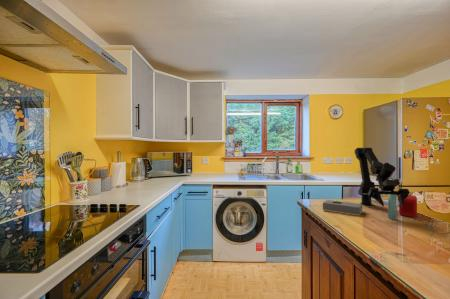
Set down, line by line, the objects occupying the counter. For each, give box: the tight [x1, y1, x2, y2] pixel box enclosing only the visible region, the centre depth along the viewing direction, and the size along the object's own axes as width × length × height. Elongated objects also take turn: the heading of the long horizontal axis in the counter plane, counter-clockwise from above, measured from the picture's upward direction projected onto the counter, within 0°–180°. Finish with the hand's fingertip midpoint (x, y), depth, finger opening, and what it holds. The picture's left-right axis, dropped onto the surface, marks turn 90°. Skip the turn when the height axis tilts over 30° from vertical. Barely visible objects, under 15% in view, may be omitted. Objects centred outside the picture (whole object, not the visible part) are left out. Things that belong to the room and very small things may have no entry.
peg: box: [387, 194, 397, 221], centre depth 127 cm, size 4×4×13 cm
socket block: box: [322, 199, 363, 216], centre depth 144 cm, size 10×20×4 cm, turn 51°
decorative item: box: [397, 194, 418, 218], centre depth 136 cm, size 15×9×10 cm, turn 141°
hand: (393, 206), depth 126 cm, fingers open, 9 cm apart
